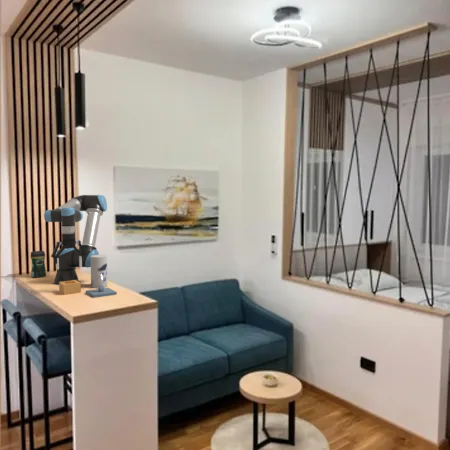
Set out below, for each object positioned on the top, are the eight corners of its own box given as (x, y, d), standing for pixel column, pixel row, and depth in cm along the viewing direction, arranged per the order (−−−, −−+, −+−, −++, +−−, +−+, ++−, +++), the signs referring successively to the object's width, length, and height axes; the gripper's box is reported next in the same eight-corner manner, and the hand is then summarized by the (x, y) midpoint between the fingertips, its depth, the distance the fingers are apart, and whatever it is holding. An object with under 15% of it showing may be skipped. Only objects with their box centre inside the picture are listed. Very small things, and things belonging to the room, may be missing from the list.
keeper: (85, 293, 258) (85, 273, 257) (108, 289, 266) (107, 270, 265) (93, 297, 247) (93, 277, 246) (116, 294, 255) (116, 274, 254)
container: (102, 288, 270) (102, 257, 269) (88, 287, 272) (87, 256, 271) (110, 284, 280) (109, 254, 278) (96, 284, 282) (95, 254, 280)
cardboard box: (59, 291, 261) (59, 281, 261) (75, 289, 267) (75, 279, 267) (63, 294, 253) (63, 284, 253) (80, 292, 259) (80, 282, 259)
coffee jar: (43, 275, 311) (42, 249, 310) (47, 276, 305) (46, 251, 304) (29, 276, 305) (28, 251, 303) (33, 278, 299) (32, 252, 297)
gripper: (48, 234, 247) (49, 270, 249) (91, 232, 262) (91, 266, 263) (45, 233, 253) (46, 269, 255) (87, 231, 268) (87, 265, 269)
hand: (69, 267), depth 259 cm, fingers open, 13 cm apart
